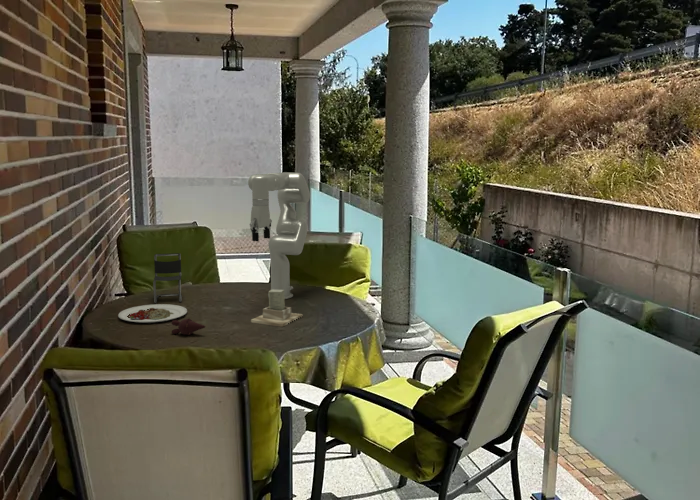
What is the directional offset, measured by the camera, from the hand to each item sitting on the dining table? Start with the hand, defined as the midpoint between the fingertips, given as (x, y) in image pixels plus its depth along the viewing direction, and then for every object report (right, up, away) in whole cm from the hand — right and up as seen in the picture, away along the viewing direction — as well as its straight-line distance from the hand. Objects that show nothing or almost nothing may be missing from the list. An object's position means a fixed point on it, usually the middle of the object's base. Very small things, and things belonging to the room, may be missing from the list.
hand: (261, 239), depth 306 cm
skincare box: (+9, -35, -13) cm, 38 cm away
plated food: (-48, -35, -7) cm, 60 cm away
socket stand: (+9, -36, -13) cm, 39 cm away
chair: (-49, -30, +23) cm, 62 cm away
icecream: (-25, -40, -36) cm, 59 cm away
